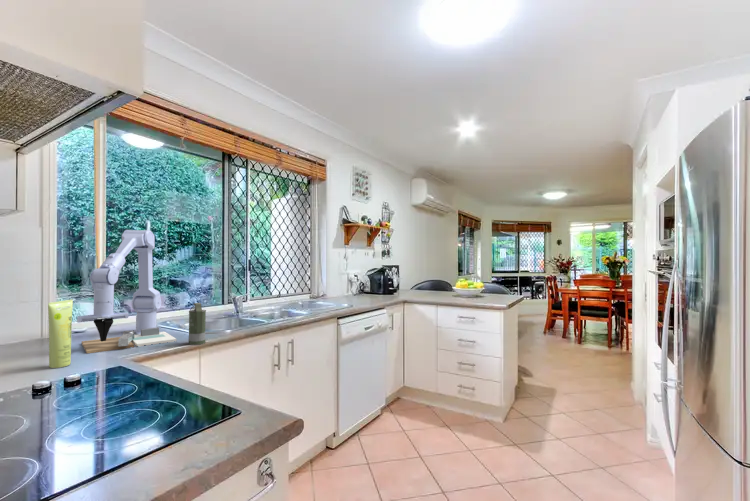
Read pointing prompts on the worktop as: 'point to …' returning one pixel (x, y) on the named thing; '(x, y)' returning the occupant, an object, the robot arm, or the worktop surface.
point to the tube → (60, 333)
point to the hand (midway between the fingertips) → (103, 340)
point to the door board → (152, 337)
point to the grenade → (197, 325)
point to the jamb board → (103, 345)
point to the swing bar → (126, 338)
